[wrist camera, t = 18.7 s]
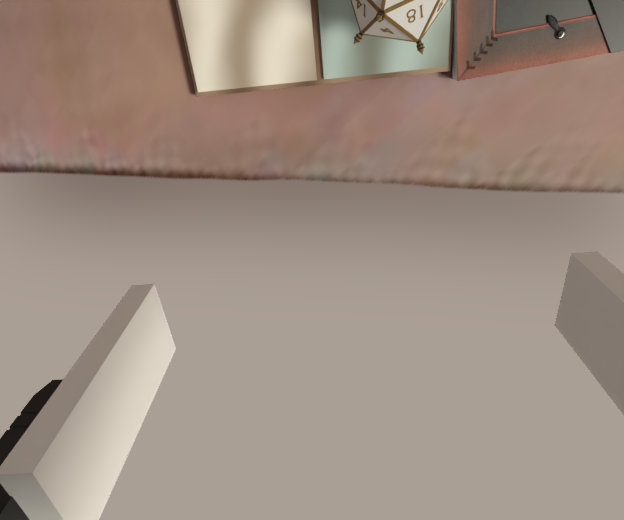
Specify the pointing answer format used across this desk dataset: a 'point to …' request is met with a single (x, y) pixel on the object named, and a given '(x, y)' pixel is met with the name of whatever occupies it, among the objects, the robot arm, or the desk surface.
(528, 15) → the picture frame
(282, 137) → the desk surface
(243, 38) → the board
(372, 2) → the game die
